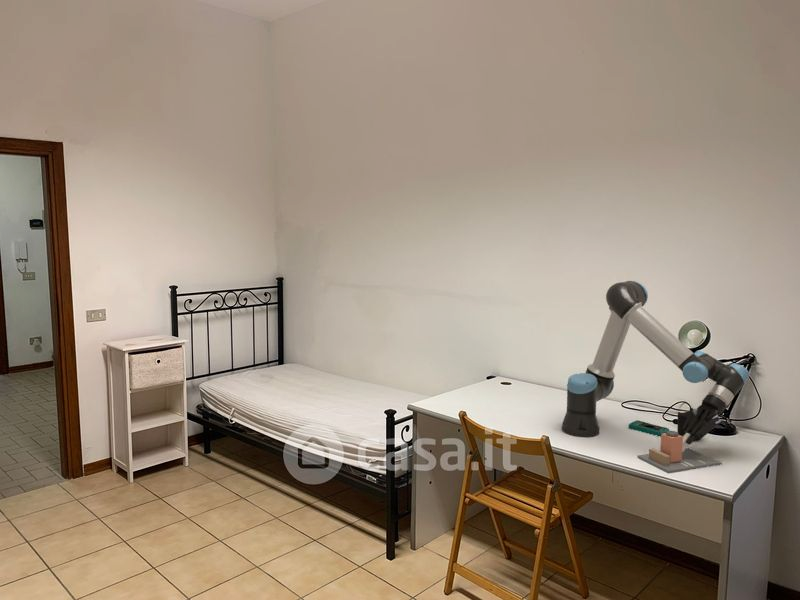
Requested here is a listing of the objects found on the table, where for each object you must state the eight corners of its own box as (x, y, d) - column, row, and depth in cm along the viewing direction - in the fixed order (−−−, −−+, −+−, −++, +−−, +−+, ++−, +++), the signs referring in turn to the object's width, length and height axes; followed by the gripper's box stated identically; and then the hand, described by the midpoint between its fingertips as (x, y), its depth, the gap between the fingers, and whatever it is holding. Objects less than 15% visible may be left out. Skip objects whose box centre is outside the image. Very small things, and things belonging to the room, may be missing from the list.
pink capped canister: (670, 456, 212) (672, 429, 211) (681, 460, 208) (683, 433, 207) (659, 457, 211) (661, 431, 210) (670, 462, 206) (672, 435, 205)
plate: (688, 449, 222) (688, 439, 221) (721, 464, 208) (722, 452, 207) (637, 457, 214) (637, 446, 213) (668, 473, 200) (669, 461, 199)
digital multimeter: (662, 438, 235) (662, 431, 235) (627, 429, 247) (628, 422, 246) (670, 434, 240) (671, 427, 240) (636, 425, 251) (636, 419, 251)
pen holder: (676, 432, 241) (678, 409, 240) (702, 436, 237) (703, 412, 236) (675, 439, 233) (677, 415, 232) (702, 443, 229) (703, 418, 228)
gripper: (737, 411, 209) (699, 461, 205) (707, 401, 221) (670, 449, 217) (727, 398, 207) (688, 449, 203) (697, 389, 219) (660, 437, 215)
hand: (679, 449), depth 210 cm, fingers closed
